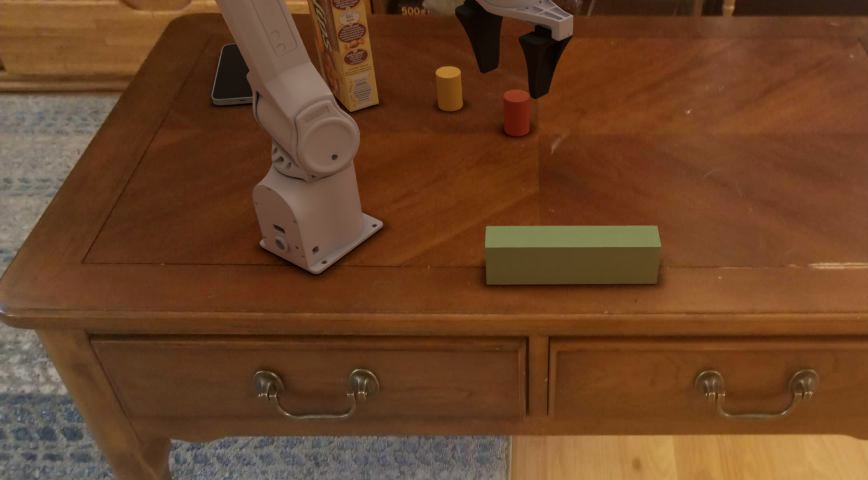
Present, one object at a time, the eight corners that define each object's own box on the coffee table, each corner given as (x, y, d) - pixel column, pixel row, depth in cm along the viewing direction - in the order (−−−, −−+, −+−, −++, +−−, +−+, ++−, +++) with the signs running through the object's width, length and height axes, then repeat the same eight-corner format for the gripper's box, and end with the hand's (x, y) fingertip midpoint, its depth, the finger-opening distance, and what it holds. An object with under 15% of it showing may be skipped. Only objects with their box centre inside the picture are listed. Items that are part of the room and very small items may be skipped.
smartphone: (209, 100, 102) (222, 44, 113) (211, 107, 103) (224, 50, 113) (272, 95, 103) (279, 40, 114) (274, 102, 104) (280, 46, 114)
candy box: (381, 104, 104) (364, -20, 93) (348, 114, 102) (328, -12, 91) (351, 75, 109) (332, -45, 99) (320, 84, 107) (298, -38, 97)
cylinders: (520, 139, 98) (519, 104, 95) (433, 107, 103) (430, 73, 100) (534, 128, 100) (534, 93, 97) (448, 97, 105) (446, 63, 102)
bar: (486, 284, 79) (484, 247, 76) (487, 263, 81) (485, 225, 78) (656, 284, 79) (661, 246, 76) (652, 262, 82) (657, 225, 79)
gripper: (597, -41, 78) (590, 93, 87) (490, -79, 85) (494, 47, 94) (544, -20, 74) (542, 117, 83) (436, -62, 81) (446, 68, 91)
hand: (513, 82), depth 89 cm, fingers open, 7 cm apart
